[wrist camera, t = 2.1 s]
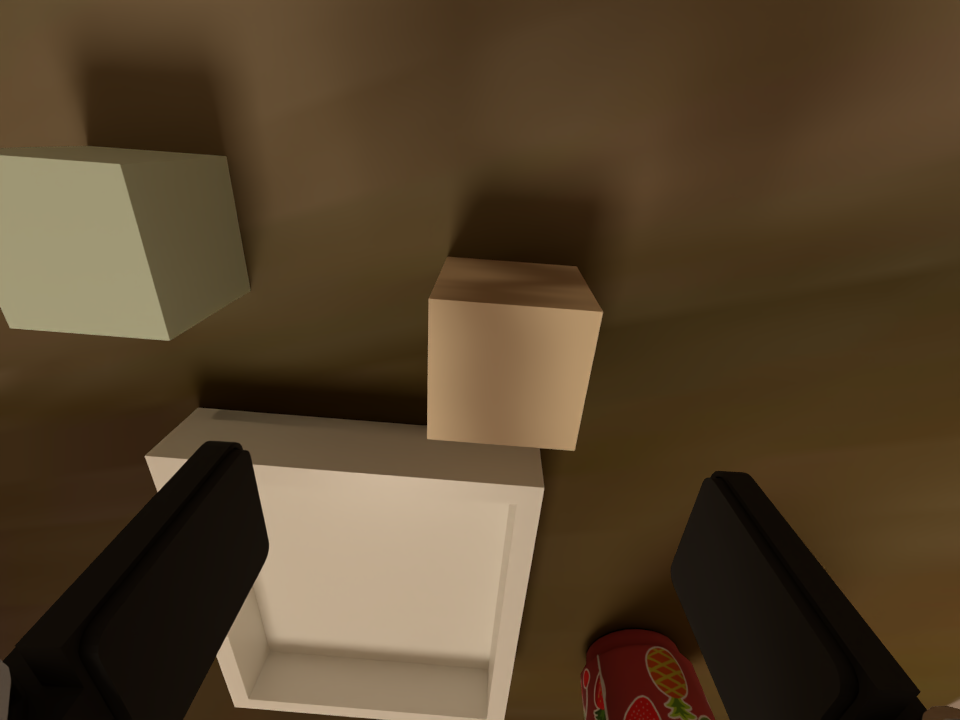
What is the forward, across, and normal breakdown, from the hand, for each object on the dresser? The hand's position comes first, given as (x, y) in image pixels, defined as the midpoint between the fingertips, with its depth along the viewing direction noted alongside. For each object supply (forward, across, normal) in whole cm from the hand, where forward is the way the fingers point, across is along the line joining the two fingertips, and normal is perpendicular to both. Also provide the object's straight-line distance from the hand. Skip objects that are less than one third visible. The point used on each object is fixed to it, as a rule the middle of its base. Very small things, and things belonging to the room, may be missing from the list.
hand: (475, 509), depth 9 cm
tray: (+10, +5, +15) cm, 19 cm away
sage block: (+10, +12, -3) cm, 16 cm away
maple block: (+10, -1, 0) cm, 10 cm away
